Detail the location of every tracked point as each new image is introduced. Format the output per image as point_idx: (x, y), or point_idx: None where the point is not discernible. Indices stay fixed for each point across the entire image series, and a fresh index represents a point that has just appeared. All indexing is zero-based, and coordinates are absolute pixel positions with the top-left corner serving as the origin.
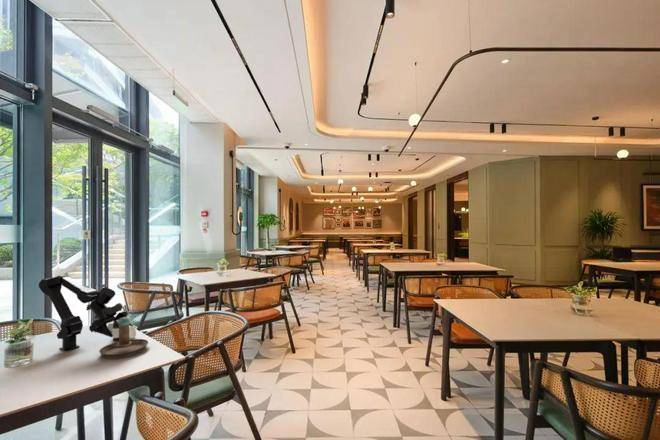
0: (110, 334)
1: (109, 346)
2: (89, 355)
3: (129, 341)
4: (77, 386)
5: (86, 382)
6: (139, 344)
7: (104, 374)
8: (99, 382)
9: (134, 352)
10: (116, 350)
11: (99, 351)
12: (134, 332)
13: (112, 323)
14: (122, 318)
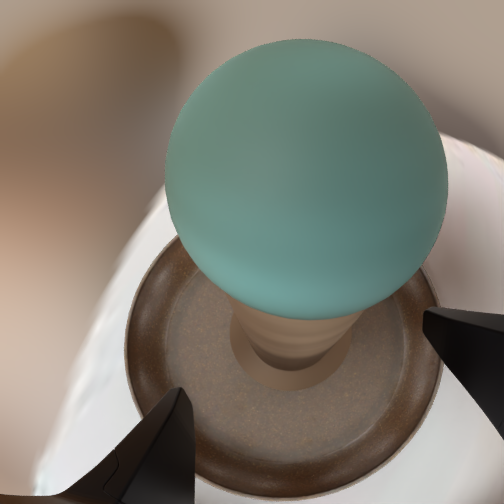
0: (454, 315)
1: (314, 485)
2: (425, 473)
3: (239, 330)
4: (495, 167)
5: (482, 166)
6: (161, 353)
7: None
8: (455, 140)
9: None
10: (303, 415)
11: (436, 390)
12: None
13: None
14: (375, 59)
